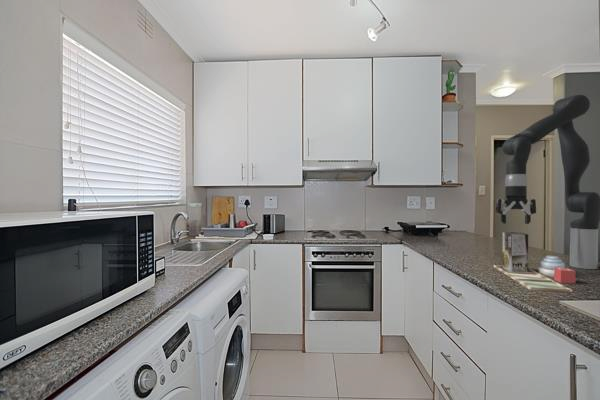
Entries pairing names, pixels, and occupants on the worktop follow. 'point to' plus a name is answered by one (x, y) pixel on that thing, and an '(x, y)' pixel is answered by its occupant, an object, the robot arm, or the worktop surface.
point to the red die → (564, 275)
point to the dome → (552, 262)
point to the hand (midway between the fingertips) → (515, 223)
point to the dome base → (546, 271)
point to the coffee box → (515, 251)
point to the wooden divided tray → (534, 280)
